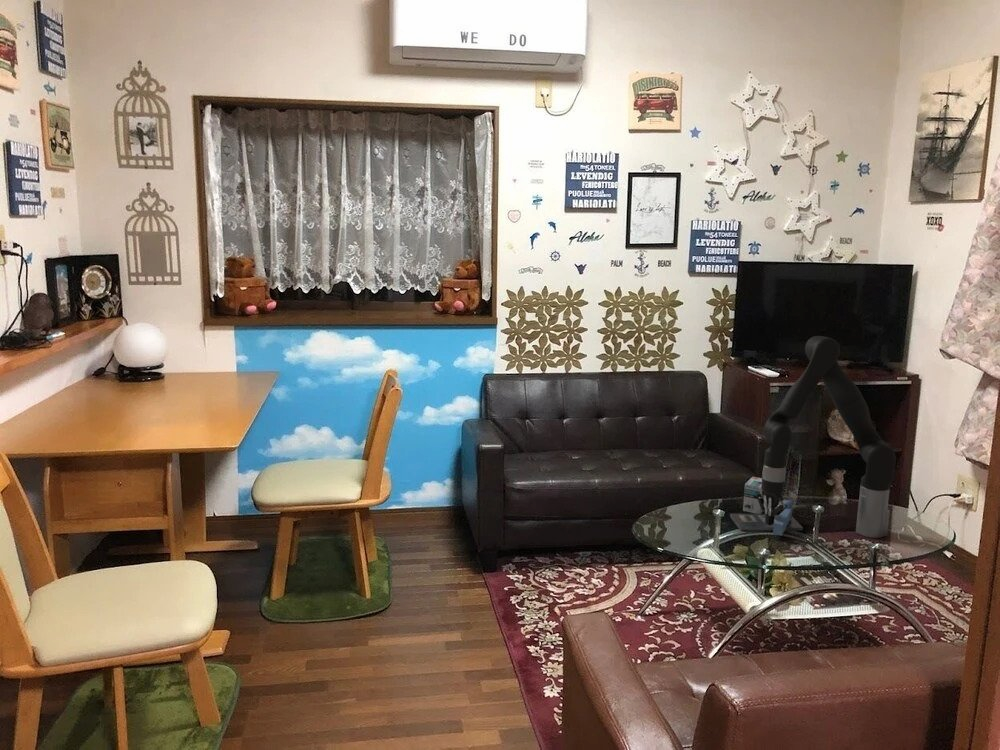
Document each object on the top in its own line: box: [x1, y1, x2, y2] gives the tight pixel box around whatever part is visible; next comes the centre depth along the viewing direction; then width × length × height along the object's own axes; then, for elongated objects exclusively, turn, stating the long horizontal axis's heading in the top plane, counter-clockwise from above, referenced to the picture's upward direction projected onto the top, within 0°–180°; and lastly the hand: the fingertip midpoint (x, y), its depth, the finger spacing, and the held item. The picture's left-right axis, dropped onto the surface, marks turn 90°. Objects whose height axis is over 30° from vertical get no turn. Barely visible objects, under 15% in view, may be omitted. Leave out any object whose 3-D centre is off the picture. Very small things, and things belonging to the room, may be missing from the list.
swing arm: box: [772, 499, 794, 536], centre depth 282 cm, size 20×4×6 cm, turn 151°
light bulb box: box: [742, 476, 765, 514], centre depth 301 cm, size 11×7×11 cm, turn 147°
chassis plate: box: [729, 513, 804, 532], centre depth 288 cm, size 22×13×2 cm, turn 90°
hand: (769, 524), depth 280 cm, fingers closed
